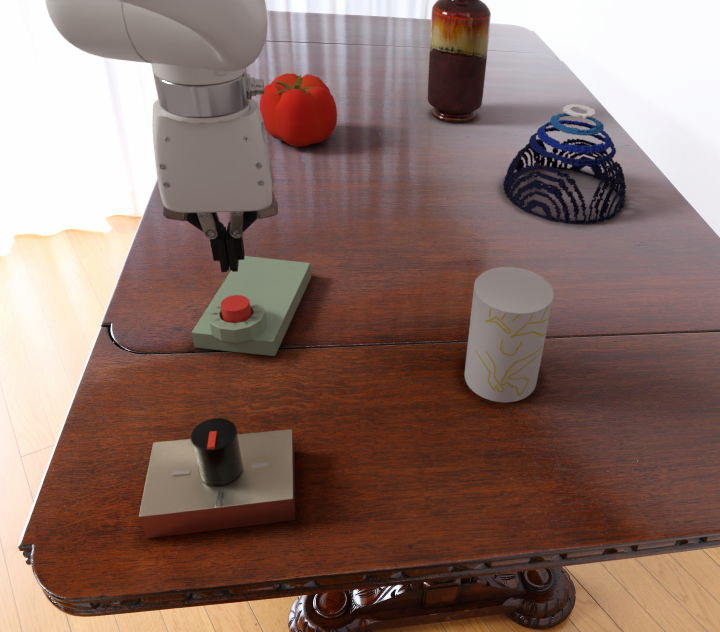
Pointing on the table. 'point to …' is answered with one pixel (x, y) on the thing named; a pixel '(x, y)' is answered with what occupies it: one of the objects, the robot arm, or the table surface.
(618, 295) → the table surface
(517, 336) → the white patterned cylinder
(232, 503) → the panel
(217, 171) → the robot arm
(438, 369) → the table surface
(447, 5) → the vase
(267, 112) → the tomato
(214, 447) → the hob knob
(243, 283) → the switch box
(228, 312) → the button
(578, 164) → the decorative bowl
